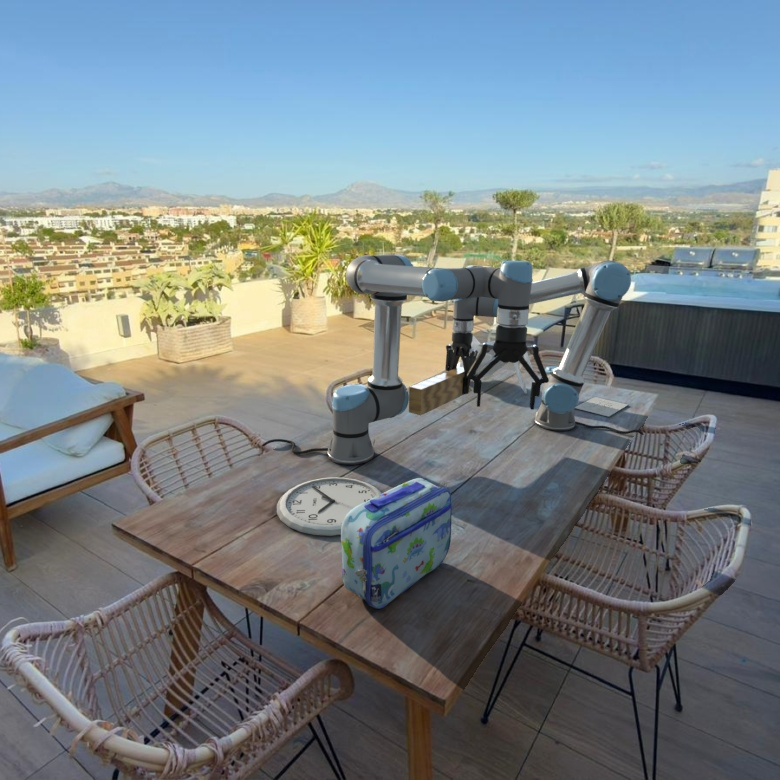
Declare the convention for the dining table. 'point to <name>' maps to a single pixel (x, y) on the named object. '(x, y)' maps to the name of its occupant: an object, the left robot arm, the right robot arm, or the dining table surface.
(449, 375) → the bar
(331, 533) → the wall clock
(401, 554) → the lunch box
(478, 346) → the white plastic object
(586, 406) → the invitation card
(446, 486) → the fork
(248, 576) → the dining table surface
